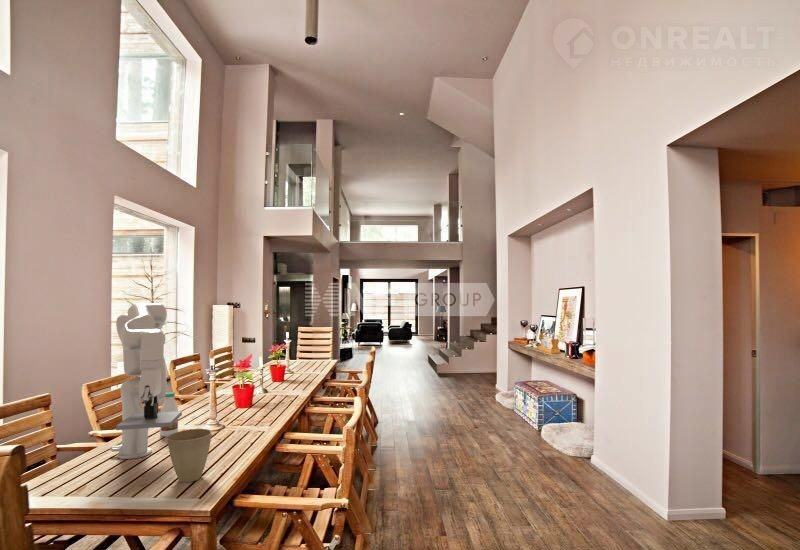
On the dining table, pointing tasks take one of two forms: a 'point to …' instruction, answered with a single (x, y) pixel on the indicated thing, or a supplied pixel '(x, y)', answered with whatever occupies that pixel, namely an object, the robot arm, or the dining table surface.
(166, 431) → the milk bottle
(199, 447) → the plant pot
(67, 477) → the dining table surface
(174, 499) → the dining table surface
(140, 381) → the robot arm
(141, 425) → the lid
